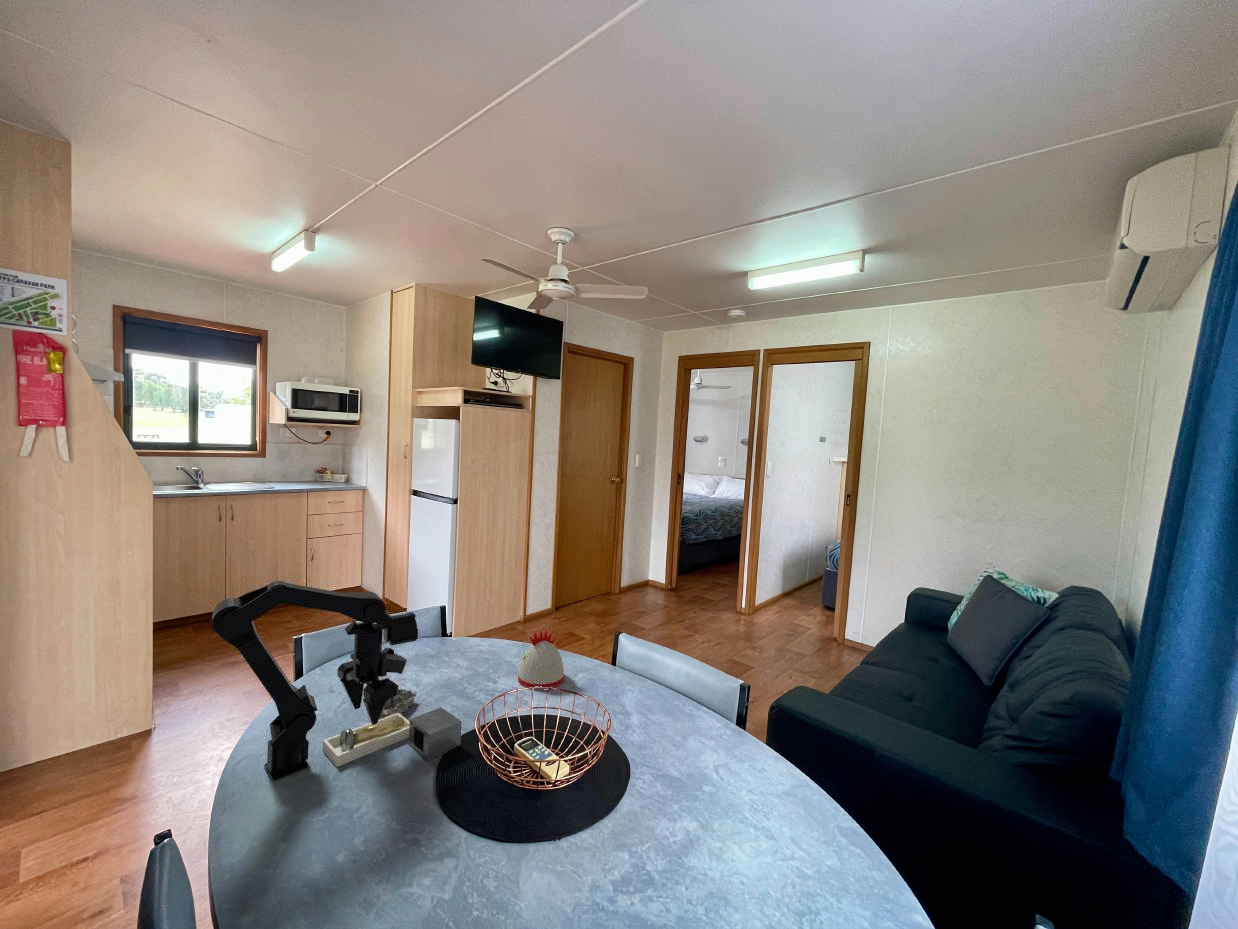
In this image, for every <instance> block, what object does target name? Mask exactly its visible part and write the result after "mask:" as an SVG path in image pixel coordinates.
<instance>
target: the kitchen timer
mask: <svg viewBox="0 0 1238 929" xmlns="http://www.w3.org/2000/svg"><path fill="white" fill-rule="evenodd" d="M537 635H538V636H537ZM552 635H553V634H552V632H549V633H548V631H547V630H546V629H545V630H544V632H543V631H542V630H541V629H540V631H539V634H537V632H536V631H534V632H533V638H532V637H531V636H530V635H529V637H528V638H529V640H530V642H531V645H530V646H529V647H528V648H527V649H526V651H525V653H524V654H523V657H522V660H521V661H520V665H519V668H518V674H517V675H518V676H517V682H518V683H519V684H520V685H521V686H522V687H524V688H527V687H535V686H539V687H540V686H542V687H554V688H556V687H558V686H560V685H561V684H563V682H564V681H565V670H564V669H565V668H564V664H563V659H562V656H561V653H560V651H559V650H558V648H557V647H556V646H555V645H554V643H555V641H556V638H557V636H556V635H554V636H552ZM551 637H552V639H551Z"/></svg>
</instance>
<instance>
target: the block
mask: <svg viewBox="0 0 1238 929" xmlns="http://www.w3.org/2000/svg"><path fill="white" fill-rule="evenodd" d="M408 721H409V737H408V745H409V746H410V747H411V748H413V749H414V750H415V751H416V752H417V753H419V754H420V755H421V756H422V757H423V758H424V759H426V760H427V761H428V762H429V761H431V760H433V759H435V758H438V757H439V756H442V755H444V754H446V753H448V751H449V750H451V749H452V748H455V747H456V746H459V745H460V744H462V742H461V741H462V724H463V723H462V720H460V719H459V718H457V717H456V716H454V715H453V714H452V713H450V712H449V711H448V710H446V709H445V708H443V707H441V706H440V707H438V708H436V709H433V710H430V711H428V712H425V713H422V714H420V715H417V716H414V717H412V718H409V720H408ZM459 747H460V746H459ZM455 749H456V748H455ZM451 751H452V750H451ZM449 752H450V751H449Z"/></svg>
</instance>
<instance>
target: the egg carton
mask: <svg viewBox="0 0 1238 929" xmlns="http://www.w3.org/2000/svg"><path fill="white" fill-rule="evenodd" d="M415 697H417V691H414V692H412V690H411V689H409V690H407V689H403V688H398V695H397V696H394V697H393V698H390V699H388V700H387V701H386V703H385V705H384V707H383V710H382V712H381V715H380V718H379V720H380V719H383V718H385V717H388V716H391V715H393V714H396V713H399V714H401V715H402V716H403V713H406V712H407V711H408V709H409V707H410V706H411V707H412V706H414V705H415ZM392 702H393V708H392V707H391V706H392ZM389 707H391V708H389ZM385 708H388V709H385Z"/></svg>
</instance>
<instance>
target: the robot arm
mask: <svg viewBox="0 0 1238 929" xmlns="http://www.w3.org/2000/svg"><path fill="white" fill-rule="evenodd" d="M279 605H287V606H294V607H300V608H306V609H311V610H319V611H325V612H332V613H337V614H341V615H343V616H346V617H348V618H350V619H352V621H351V622H350V623H349V624H348V625H347V626H345V628H344V631H345V633H346V635H348V636H354V642H353V643H354V644H353V645H354V646H353V647H354V648H353V653H350V659H351V660H350V661H346V662H342V663H341V664H340V665H339V666H338V667H337V674H336V676H337V678H339V682H340V684H341V685H342V686H343V688H344V690H345V693H346V694H347V696H348V698H349V700H350V703H351V705H352V706H353V708H354V709H355V710H358V709H360V708H361V705H362V700H363V704H364V707H365V709H366V712H367V715H368V718H369V721H370V723H372V725H374V724H377V723H378V720H380V719H379V718H380V715H381V712H382V710H383V707H384V705H385V703H386V701H387V700H388V699H390V698H393V697H394V696H397V695H398V689H399V685H398V684H397V683H395V682H394V681H392V679H390V678H389V677H387V678H383V679H380V677H381V678H382V677H385V676H387V675H388V673H391V674H393V673H395V674H396V673H397V674H399V675H402V674H403V673H404V670H405V667H406V664H407V661H408V659H406V658H404V657H403V656H401V655H399V654H397V653H395V650H394V648H391V646H396V645H401V644H407V643H412V642H417V640H418V637H419V628H418V624H417V620H416V613H414V611H409V612H406V613H404V614H403V613H402V614H398V615H397V614H396V615H391V614H390V613H389V612H388V610H386V608H387V607H386V604H385V602H384V600H382V598H381V597H380V596H379V595H378V594H377V593H375V592H373V591H350V592H341V591H340V592H339V591H333V590H328V589H322V588H316V587H312V586H306V585H300V584H295V583H288V582H286V581H283V580H274V581H271V582H270V583H268V584H267V585H265V586H263V587H259V588H256V589H254V590H250V591H248V592H246V593H243V594H242V595H240V596H238V597H231V598H226V599H223V600H222V601H220V602H219V603H217V605H216V606H215V607H214V608H213V612H212V616H211V617H212V619H211V627H212V630H213V632H215V633H216V634H217V635H218V636H219V637H220V638H221V639H223V641H224V642H225V643H227V644H229V645H230V646H232V647H233V648H235V649H237V650H238V651H239V653H240V654H241V656H242V657H243V659H244V660H245V661H246V662H247V664H248V666H249V667H250V669H251V670H252V672H253V673H254V675H255V676H256V677H257V679H258V680H259V681H260V683H261V684H262V685H263V687H264V689H265V690H266V692H267V693H268V694H269V696H270V697H271V699H272V700H273V701H274V704H275V707H276V709H277V713H278V715H277V716H276V717H275V718H274V719H273V720H272V721H271V722H270V723H269V730H270V736H271V739H269V740H267V752H266V753H267V755H266V756H267V757H266V758H267V759H266V763H265V764H264V765H263V768H264V770H265V771H266V772H267V774H268V775H269V777H270V778H271V779H272V780H273V781H275V780H278V779H281V778H283V777H287V776H289V775H291V774H293V773H296V772H299V771H301V770H304V769H306V768H308V767H309V763H308V761H307V760H309V743H310V742H309V740H308V739H307V735H308V733H309V731H311V730H312V729H313V727H314V726H315V724H316V722H317V714H316V712H317V711H318V707H317V704H316V700H315V697H314V696H313V695H311V694H310V692H308V689H307V686H306V684H303V685H302V686H300V687H299V688H298V687H296V686H295V685H293V684H292V682H291V681H290V679H289V678H288V677H287V675H286V674H285V672H284V670H283V669H282V668H281V667H280V665H279V663H278V662H277V660H276V659H275V657H274V656H273V654H272V653H271V652H270V650H269V648H268V647H267V646H266V644H265V642H264V641H263V639H262V638H261V636H260V635H259V633H258V631H257V628H256V625H255V622H254V621H255V620H257V619H259V618H261V617H262V616H263V615H264V614H266V613H268V612H269V611H270V610H272V609H273V608H276V607H277V606H279ZM383 640H384V643H387V642H388V643H389V644H388V645H389V646H390V647H384V648H383ZM365 685H366V686H365ZM363 697H364V698H363ZM384 708H385V707H384Z"/></svg>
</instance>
